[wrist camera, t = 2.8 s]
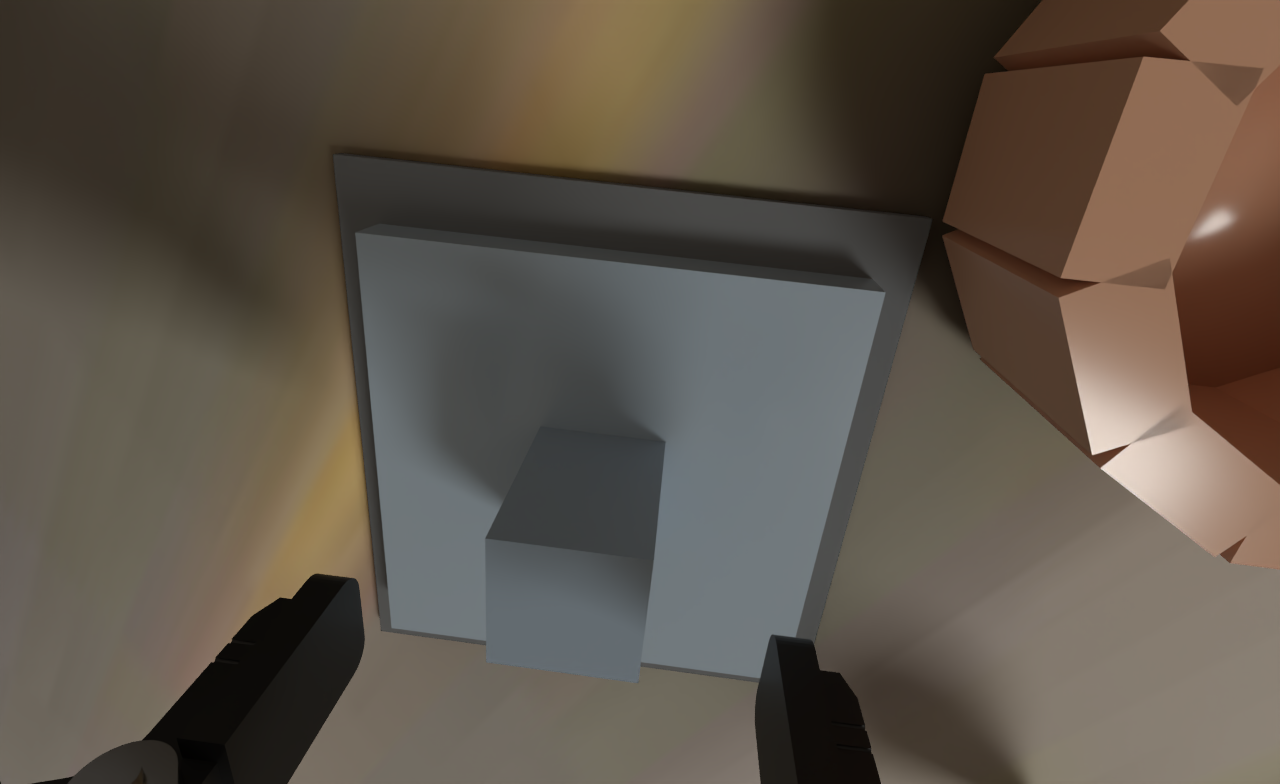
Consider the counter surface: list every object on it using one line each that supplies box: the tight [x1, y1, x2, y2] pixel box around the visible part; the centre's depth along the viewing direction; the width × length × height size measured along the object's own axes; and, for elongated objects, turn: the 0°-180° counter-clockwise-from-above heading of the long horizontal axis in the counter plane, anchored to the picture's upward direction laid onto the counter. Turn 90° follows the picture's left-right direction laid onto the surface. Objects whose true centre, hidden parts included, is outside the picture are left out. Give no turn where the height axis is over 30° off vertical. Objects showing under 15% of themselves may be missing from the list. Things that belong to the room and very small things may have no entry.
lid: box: [355, 224, 886, 683], centre depth 15 cm, size 12×12×6 cm
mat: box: [333, 153, 933, 683], centre depth 18 cm, size 15×14×1 cm
